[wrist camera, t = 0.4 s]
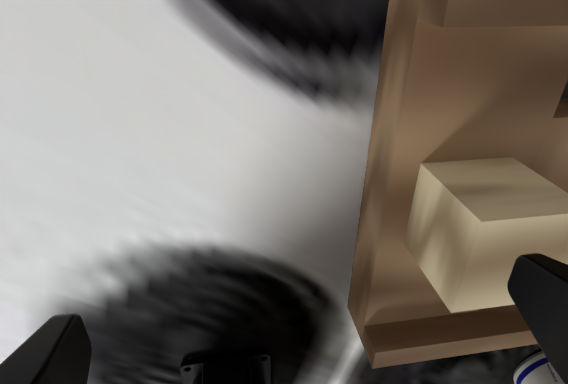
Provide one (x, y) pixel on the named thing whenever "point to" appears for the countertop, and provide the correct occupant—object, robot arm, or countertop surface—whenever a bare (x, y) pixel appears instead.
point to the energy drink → (536, 371)
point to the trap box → (452, 155)
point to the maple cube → (482, 227)
